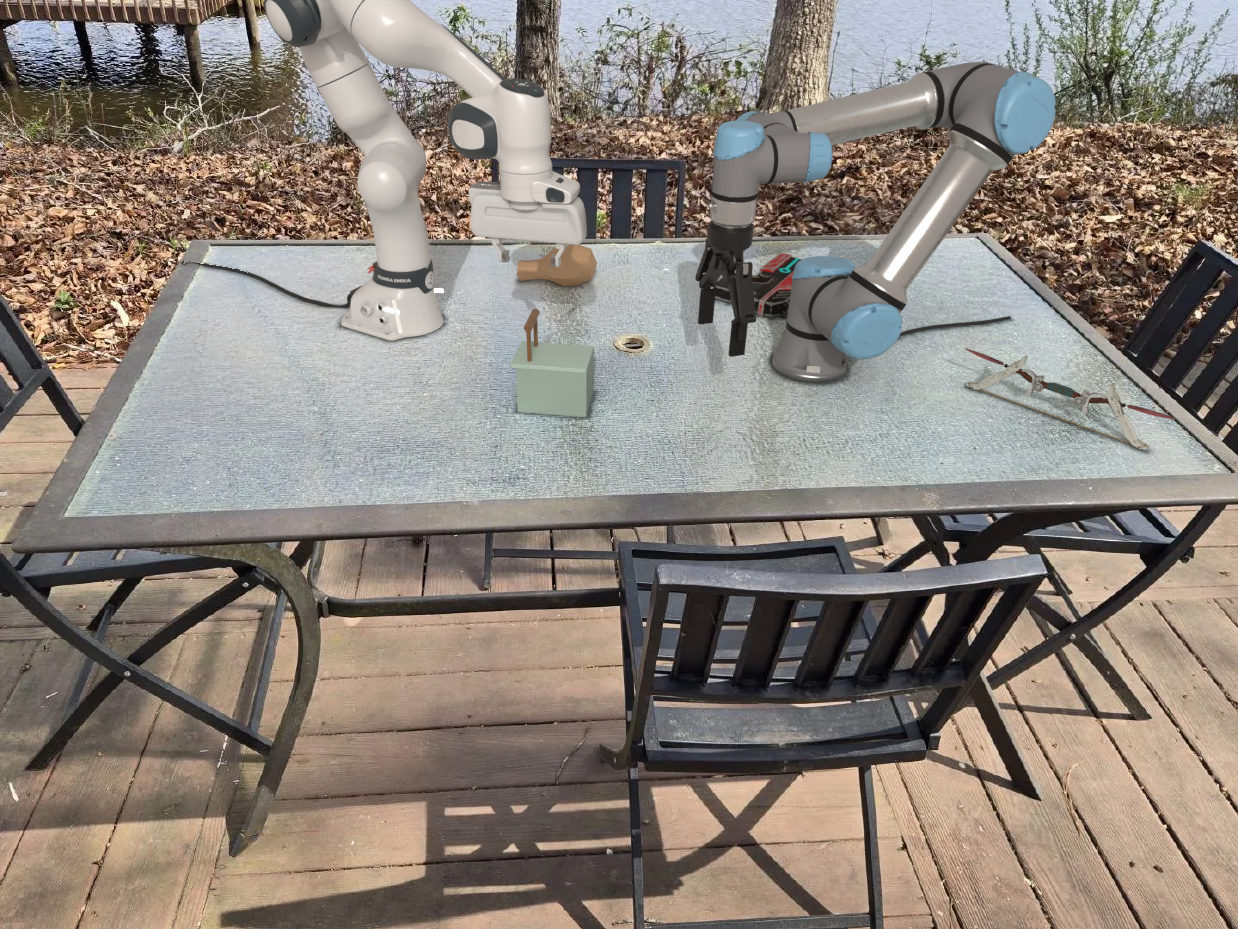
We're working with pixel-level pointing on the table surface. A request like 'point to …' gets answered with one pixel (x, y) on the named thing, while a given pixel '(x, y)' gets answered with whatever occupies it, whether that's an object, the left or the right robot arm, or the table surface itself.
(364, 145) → the left robot arm
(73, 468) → the table surface
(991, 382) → the bow
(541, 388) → the chest
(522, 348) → the lid
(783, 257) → the gun
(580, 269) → the squash
